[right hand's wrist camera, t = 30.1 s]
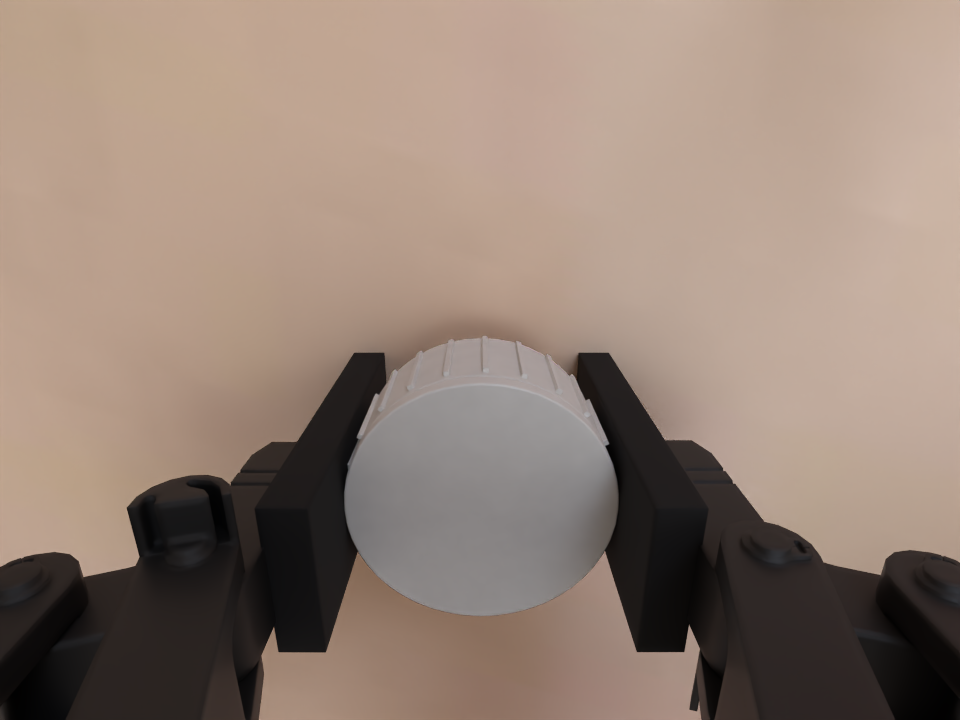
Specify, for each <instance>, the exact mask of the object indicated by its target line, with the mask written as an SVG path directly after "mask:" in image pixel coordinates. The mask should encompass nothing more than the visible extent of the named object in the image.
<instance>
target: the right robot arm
mask: <svg viewBox="0 0 960 720" xmlns="http://www.w3.org/2000/svg"><path fill="white" fill-rule="evenodd" d="M577 383H578V386H579V388H580V390H581V392H582V394H583V396H584V398H585V400H588V399H589V400H590V402H591V404H592V406H593V408H594V411H595V413H596V415H597V417H598V420H599V422H600V424H601V426H602V429H603V431H604V433H605V435H606V438H607V440H608V442H609V444H608V445H606V446H605V447H606V449H607V451H608V454H609V456H610V458H611V461H612V463H613V466H614V470H615V473H616V477H617V482H618V490H619V509H618V515H617V520H616V525H615V528H614V531H613V534H612V537H611V540H610V542H609V544H608V545H607V547H606V549H605V552H606V555H607V559H608V562H609V565H610V568H611V571H612V574H613V578H614V581H615V584H616V587H617V590H618V594H619V597H620V600H621V603H622V606H623V609H624V613H625V616H626V619H627V622H628V625H629V628H630V632H631V635H632V638H633V641H634V644H635V647H636V651H637V652H684V651H685V645H686V639H687V633H688V627H689V625H690V627H691V629H692V632H693V634H694V636H695V638H696V641H697V643H698V645H699V647H700V652H699V658H698V663H697V669H696V674H695V679H694V685H693V690H692V696H691V702H690V709H689V710H694V711H697V709H698V704H699V702H700V711H701V719H702V720H960V563H959V562H958V561H956V560H954V559H951V558H948V557H945V556H944V557H943V556H941V555H938V554H934V553H929V552H921V551H913V550H908V551H900V552H894V553H893V554H892V555H890V556H889V557H888V558H887V559H886V561H885V564H884V567H883V570H882V573H881V575H877V574H872V573H867V572H862V571H857V570H853V569H848V568H843V567H838V566H834V565H830V564H827V563H823V561H822V559H821V557H820V555H819V554H818V552H817V551H816V550H815V548H814V547H813V546H812V545H811V544H810V543H809V542H807V541H806V540H805V539H803V538H802V537H801V536H799V535H798V534H796V533H794V532H792V531H790V530H788V529H785V528H783V527H781V526H779V525H775V524H771V523H767V522H764V521H763V520H762V518H761V517H760V516H759V514H758V513H757V512H756V510H755V509H754V508H753V507H752V505H751V504H750V503H749V501H748V500H747V499H746V497H745V496H744V495H743V494H742V492H741V491H740V490H739V488H738V487H737V486H736V484H733V481H732V479H731V478H730V477H729V475H728V474H727V473H726V471H723V468H722V466H721V465H720V464H719V462H718V461H717V460H716V458H715V457H714V456H713V455H712V453H710V452H709V451H707V450H706V449H704V448H703V447H701V446H699V445H698V444H696V443H695V442H693V441H692V440H664V438H663V436H662V435H661V433H660V432H659V430H658V429H657V427H656V426H655V424H654V423H653V421H652V419H651V418H650V416H649V415H648V413H647V412H646V410H645V409H644V407H643V405H642V404H641V402H640V401H639V399H638V398H637V396H636V395H635V393H634V391H633V390H632V388H631V387H630V385H629V384H628V382H627V381H626V379H625V377H624V376H623V374H622V373H621V371H620V370H619V368H618V367H617V365H616V363H615V362H614V360H613V359H612V357H611V356H610V354H609V353H579V357H578V373H577ZM385 385H386V371H385V356H384V353H354V354H353V356H352V357H351V359H350V361H349V362H348V364H347V365H346V367H345V368H344V370H343V371H342V373H341V375H340V376H339V378H338V379H337V381H336V382H335V384H334V385H333V387H332V389H331V390H330V392H329V393H328V395H327V396H326V398H325V399H324V401H323V403H322V404H321V406H320V407H319V409H318V410H317V412H316V413H315V415H314V417H313V418H312V420H311V421H310V423H309V424H308V426H307V427H306V429H305V431H304V432H303V434H302V435H301V437H300V438H299V440H298V441H297V442H271V443H270V444H268V445H267V446H265V447H264V448H262V449H261V450H259V451H257V452H256V453H254V454H253V455H252V456H251V457H250V458H249V460H248V461H247V462H246V464H245V465H244V466H243V467H242V469H241V472H240V473H238V474H237V475H236V477H235V478H234V479H233V481H232V482H231V486H230V484H228V483H227V482H226V481H225V480H223V479H222V478H219V477H214V476H210V475H194V476H186V477H181V478H177V479H172V480H169V481H166V482H164V483H161V484H159V485H156V486H154V487H151V488H150V489H148V490H147V491H145V492H143V493H142V494H140V495H139V496H137V497H136V498H135V499H134V500H133V501H132V503H131V504H130V505H129V506H128V507H127V511H128V514H129V518H130V522H131V526H132V530H133V533H134V537H135V541H136V545H137V548H138V552H139V556H140V558H139V560H138V562H137V564H136V566H134V567H130V568H126V569H121V570H116V571H111V572H107V573H102V574H97V575H92V576H87V577H83V574H82V571H81V568H80V565H79V561H78V560H76V559H75V558H74V557H73V556H71V555H70V554H64V553H57V552H52V553H44V554H36V555H31V556H27V557H24V558H22V559H21V558H20V559H17V560H14V561H11V562H9V563H7V564H6V565H3V566H1V567H0V720H259V712H260V704H261V695H262V687H263V678H264V671H263V664H262V658H261V655H262V652H263V650H264V648H265V646H266V643H267V641H268V639H269V637H270V634H271V632H272V630H273V627H274V628H275V634H276V640H277V646H278V652H326V650H327V647H328V644H329V641H330V637H331V634H332V631H333V628H334V625H335V622H336V618H337V615H338V612H339V609H340V606H341V603H342V599H343V596H344V593H345V590H346V587H347V584H348V580H349V577H350V574H351V571H352V568H353V565H354V561H355V558H356V555H357V552H358V550H357V548H356V546H355V544H354V542H353V540H352V538H351V535H350V532H349V529H348V526H347V523H346V517H345V511H344V488H345V481H346V476H347V473H348V462H349V460H350V458H351V455H352V453H353V451H354V449H355V446H356V444H357V442H358V438H357V435H358V433H359V431H360V428H361V426H362V424H363V421H364V419H365V417H366V414H367V412H368V410H369V407H370V405H371V403H372V400H373V398H374V396H375V394H378V395H379V394H380V392H381V391H382V389H383V388H384V387H385Z"/></svg>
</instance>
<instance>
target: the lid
mask: <svg viewBox="0 0 960 720" xmlns="http://www.w3.org/2000/svg"><path fill="white" fill-rule="evenodd" d="M357 438H358V442H357V444H356V446H355V449H354V451H353V453H352V455H351V458H350V460H349V462H348V473H347V476H346V481H345V488H344V511H345V517H346V523H347V526H348V529H349V532H350V535H351V538H352V540H353V542H354V544H355V546H356V548H357V550H358V552H359V554H360V555H361V557H362V558H363V559H364V561H365V562H366V564H367V565H368V566H369V567H370V568H371V570H372V571H373V572H374V573H375V574H376V575H377V576H378V577H379V578H380V579H381V580H382V581H384V582H385V583H386V584H387V585H388V586H389V587H391V588H392V589H394V590H395V591H397V592H398V593H400V594H401V595H403V596H405V597H407V598H409V599H411V600H413V601H415V602H417V603H419V604H422V605H424V606H427V607H429V608H432V609H436V610H439V611H443V612H447V613H453V614H459V615H468V616H495V615H503V614H510V613H515V612H519V611H523V610H527V609H530V608H533V607H535V606H538V605H541V604H543V603H546V602H548V601H550V600H552V599H554V598H556V597H558V596H559V595H561V594H562V593H564V592H565V591H567V590H569V589H570V588H572V587H573V586H574V585H575V584H576V583H578V582H579V581H580V580H581V579H582V578H584V577H585V576H586V574H587V573H588V572H589V571H590V570H591V569H592V568H593V567H594V566H595V564H596V563H597V562H598V560H599V559H600V557H601V556H602V555H603V553H604V551H605V549H606V547H607V545H608V544H609V542H610V540H611V537H612V534H613V531H614V528H615V525H616V520H617V515H618V509H619V490H618V482H617V477H616V473H615V470H614V466H613V463H612V461H611V458H610V456H609V454H608V451H607V449H606V447H605V446H606V445H608V444H609V442H608V440H607V438H606V435H605V433H604V431H603V429H602V426H601V424H600V422H599V420H598V417H597V415H596V413H595V411H594V408H593V406H592V404H591V402H590V400H589V399H588V400H585V398H584V396H583V394H582V392H581V390H580V388H579V386H578V383H577V381H576V379H575V377H574V376H573V374H571V375H570V376H569V375H568V374H567V373H566V372H565V371H564V370H563V369H562V368H561V367H560V366H559V365H557V364H556V363H555V362H554V361H552V358H551V356H550V355H548V354H546V356H545V355H543V354H542V353H540V352H537V351H535V350H533V349H531V348H529V347H527V346H524V345H522V344H521V342H519V341H516V342H510V341H505V340H500V339H490V338H488V337H487V336H482V338H472V339H462V340H457V341H454V340H453V339H450V340H448V343H445V344H442V345H439V346H435V347H433V348H431V349H429V350H427V351H425V352H422V351H419V352H417V355H416V357H414V358H413V359H411V360H410V361H408V362H407V363H406V364H405V365H404V366H402V367H401V368H400V369H399V370H398V371H397V370H395V369H394V370H393V371H392V373H391V375H390V378H389V380H388V382H387V384H386V385H385V387H384V388H383V389H382V391H381V392H380V394H379V395H378V394H375V396H374V398H373V400H372V403H371V405H370V407H369V410H368V412H367V414H366V417H365V419H364V421H363V424H362V426H361V428H360V431H359V433H358V435H357Z"/></svg>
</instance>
